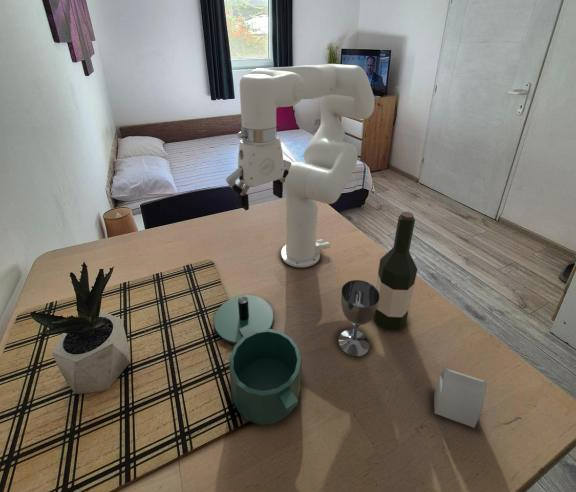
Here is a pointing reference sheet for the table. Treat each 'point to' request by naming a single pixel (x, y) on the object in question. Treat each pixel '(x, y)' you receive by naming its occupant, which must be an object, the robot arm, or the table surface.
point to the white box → (459, 397)
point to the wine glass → (357, 315)
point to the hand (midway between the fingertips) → (261, 201)
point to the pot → (265, 375)
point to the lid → (242, 316)
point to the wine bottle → (396, 277)
